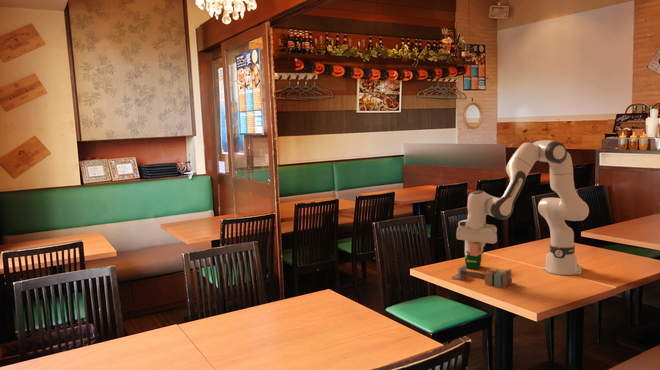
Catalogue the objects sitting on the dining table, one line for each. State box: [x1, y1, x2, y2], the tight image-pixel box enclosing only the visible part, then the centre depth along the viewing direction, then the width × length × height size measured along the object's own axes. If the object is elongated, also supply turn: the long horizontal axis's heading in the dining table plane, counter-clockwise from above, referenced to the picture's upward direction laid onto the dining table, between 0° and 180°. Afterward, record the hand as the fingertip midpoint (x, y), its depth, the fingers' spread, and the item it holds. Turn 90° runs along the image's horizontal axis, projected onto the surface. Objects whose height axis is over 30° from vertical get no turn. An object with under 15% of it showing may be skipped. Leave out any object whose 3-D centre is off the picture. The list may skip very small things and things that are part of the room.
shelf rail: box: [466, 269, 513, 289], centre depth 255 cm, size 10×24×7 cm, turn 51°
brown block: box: [484, 268, 499, 286], centre depth 253 cm, size 8×4×6 cm, turn 141°
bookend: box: [451, 264, 467, 281], centre depth 263 cm, size 8×5×6 cm, turn 142°
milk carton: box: [464, 240, 483, 270], centre depth 281 cm, size 9×9×20 cm
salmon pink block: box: [470, 242, 484, 256], centre depth 256 cm, size 8×4×6 cm, turn 142°
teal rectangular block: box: [493, 270, 506, 288], centre depth 250 cm, size 8×4×6 cm, turn 142°
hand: (476, 250), depth 256 cm, fingers closed on salmon pink block, 3 cm apart
